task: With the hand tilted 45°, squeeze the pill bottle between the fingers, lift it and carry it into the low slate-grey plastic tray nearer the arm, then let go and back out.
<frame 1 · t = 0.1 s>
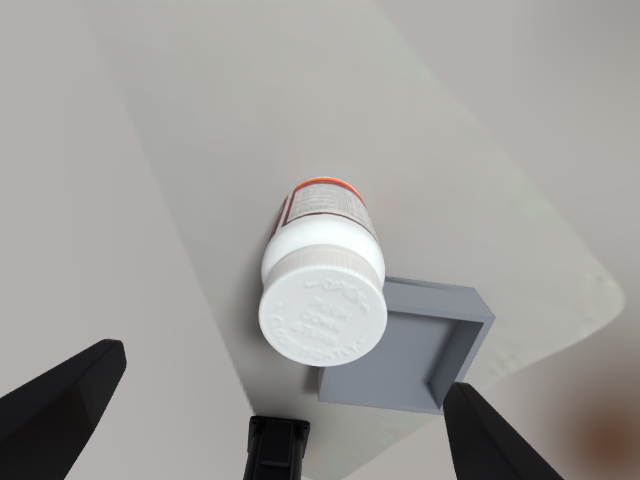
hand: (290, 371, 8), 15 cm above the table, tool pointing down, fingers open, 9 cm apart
pill bottle: (323, 214, 22), on the table
slate tray: (389, 331, 27), on the table
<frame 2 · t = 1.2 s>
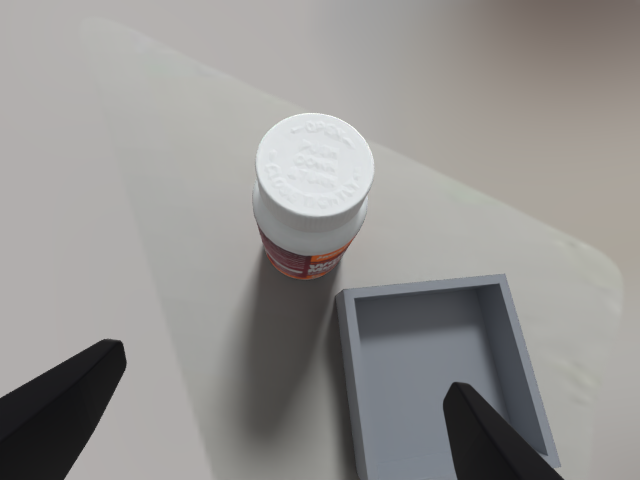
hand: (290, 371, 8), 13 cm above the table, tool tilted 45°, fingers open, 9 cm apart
pill bottle: (304, 242, 24), on the table
slate tray: (422, 367, 21), on the table
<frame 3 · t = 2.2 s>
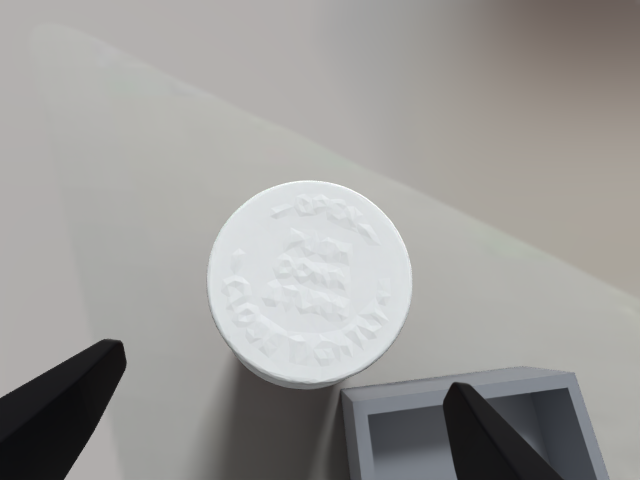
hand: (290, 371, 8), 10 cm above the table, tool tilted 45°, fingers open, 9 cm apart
pill bottle: (300, 312, 18), on the table
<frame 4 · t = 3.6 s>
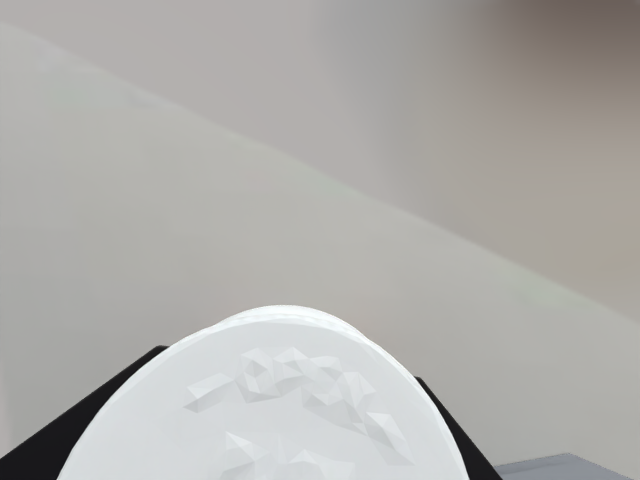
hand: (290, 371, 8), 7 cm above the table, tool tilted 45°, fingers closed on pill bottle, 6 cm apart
pill bottle: (286, 387, 14), on the table, touching gripper
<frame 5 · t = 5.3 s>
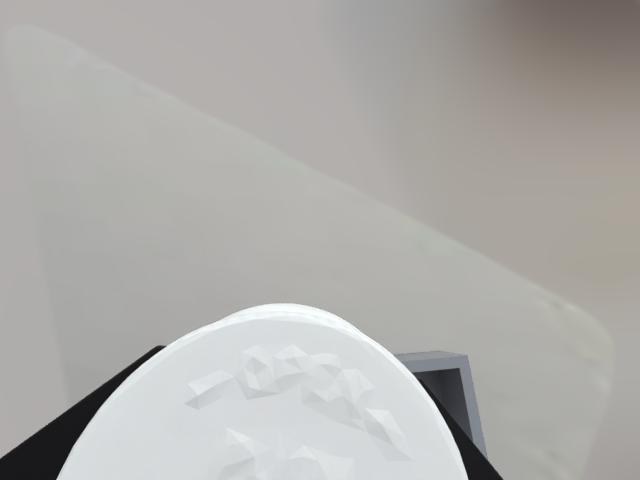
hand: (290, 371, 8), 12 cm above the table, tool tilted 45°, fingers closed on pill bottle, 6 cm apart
pill bottle: (285, 386, 14), point 5 cm above the table, touching gripper
slate tray: (367, 456, 18), on the table
when the fingers open (9 cm above the table, at t = 7.1 s): pill bottle drops 1 cm, resting on slate tray.
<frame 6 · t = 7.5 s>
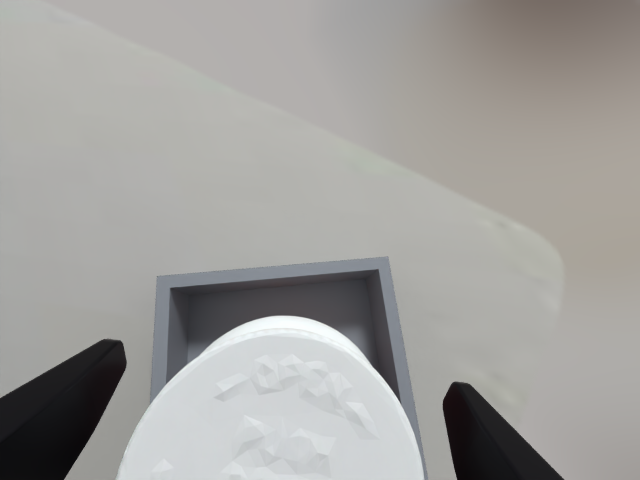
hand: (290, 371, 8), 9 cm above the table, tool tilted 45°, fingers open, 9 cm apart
pill bottle: (285, 385, 16), point 1 cm above the table, touching slate tray
slate tray: (287, 380, 16), on the table
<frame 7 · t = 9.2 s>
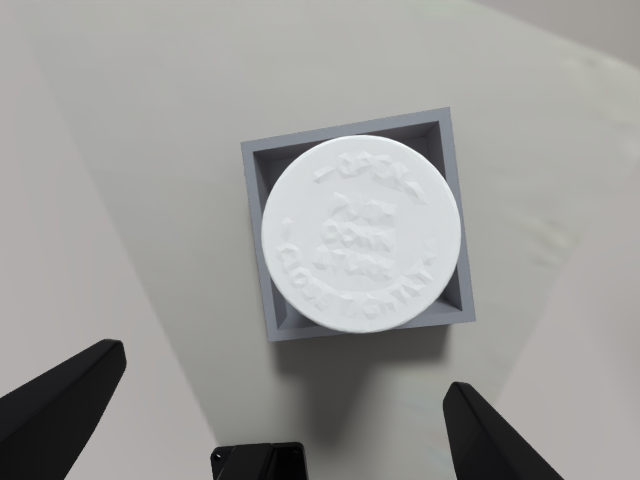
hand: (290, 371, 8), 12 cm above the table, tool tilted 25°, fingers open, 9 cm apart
pill bottle: (353, 231, 19), point 1 cm above the table, touching slate tray
slate tray: (354, 229, 20), on the table
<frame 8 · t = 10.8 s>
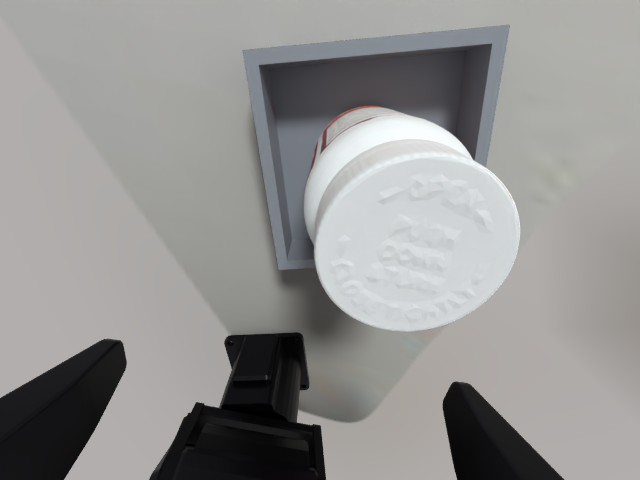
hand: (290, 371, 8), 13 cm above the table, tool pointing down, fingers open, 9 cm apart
pill bottle: (364, 160, 18), point 1 cm above the table, touching slate tray
slate tray: (365, 156, 18), on the table
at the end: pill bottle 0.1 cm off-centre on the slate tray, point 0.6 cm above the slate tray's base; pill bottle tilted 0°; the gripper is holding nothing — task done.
